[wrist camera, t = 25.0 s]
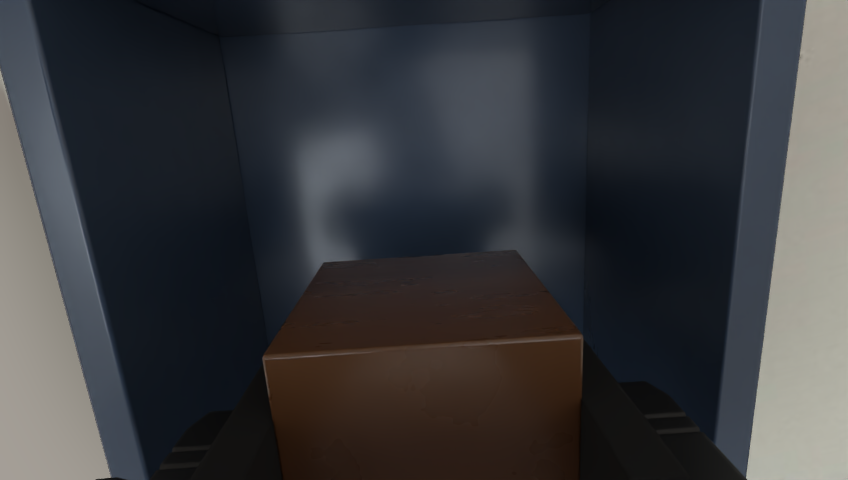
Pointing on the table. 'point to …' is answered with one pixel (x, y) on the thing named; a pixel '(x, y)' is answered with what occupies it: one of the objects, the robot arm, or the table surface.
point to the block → (427, 373)
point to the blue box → (402, 178)
